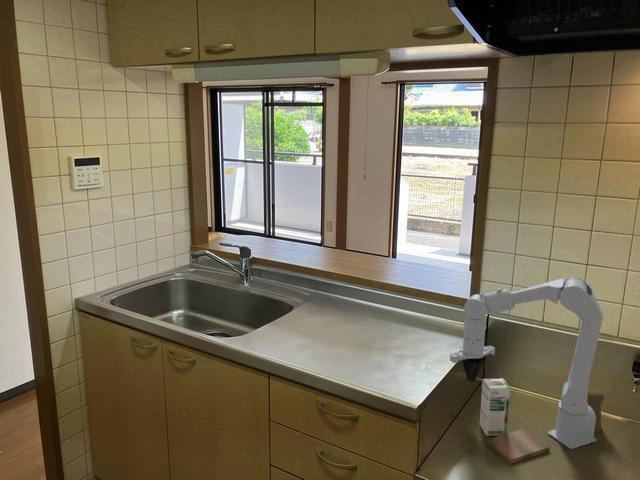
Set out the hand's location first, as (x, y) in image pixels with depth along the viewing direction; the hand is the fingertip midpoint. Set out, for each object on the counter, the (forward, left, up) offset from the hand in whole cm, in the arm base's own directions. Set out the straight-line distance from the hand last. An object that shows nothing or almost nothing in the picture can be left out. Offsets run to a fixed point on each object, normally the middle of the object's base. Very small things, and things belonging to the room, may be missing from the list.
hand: (470, 380), depth 151 cm
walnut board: (-1, +18, -10) cm, 21 cm away
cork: (-27, +19, -11) cm, 35 cm away
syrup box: (0, +10, -11) cm, 14 cm away
